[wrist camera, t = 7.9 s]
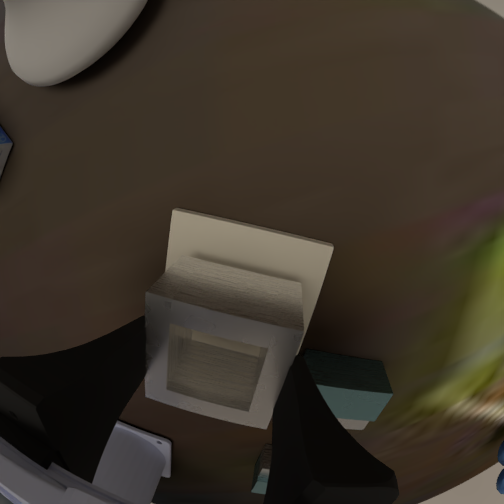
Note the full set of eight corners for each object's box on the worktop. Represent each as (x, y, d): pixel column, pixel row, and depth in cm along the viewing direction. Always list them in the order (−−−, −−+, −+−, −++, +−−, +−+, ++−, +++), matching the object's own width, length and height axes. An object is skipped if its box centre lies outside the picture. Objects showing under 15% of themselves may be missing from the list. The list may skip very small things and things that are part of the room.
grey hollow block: (173, 348, 16) (145, 396, 12) (182, 255, 14) (145, 291, 10) (272, 373, 15) (266, 429, 12) (301, 283, 14) (304, 331, 10)
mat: (163, 346, 18) (159, 352, 17) (176, 207, 15) (172, 209, 14) (286, 378, 18) (286, 384, 17) (332, 243, 15) (333, 247, 14)
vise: (254, 465, 21) (251, 492, 19) (306, 348, 17) (308, 383, 14) (309, 472, 21) (308, 498, 18) (381, 361, 16) (393, 394, 14)
